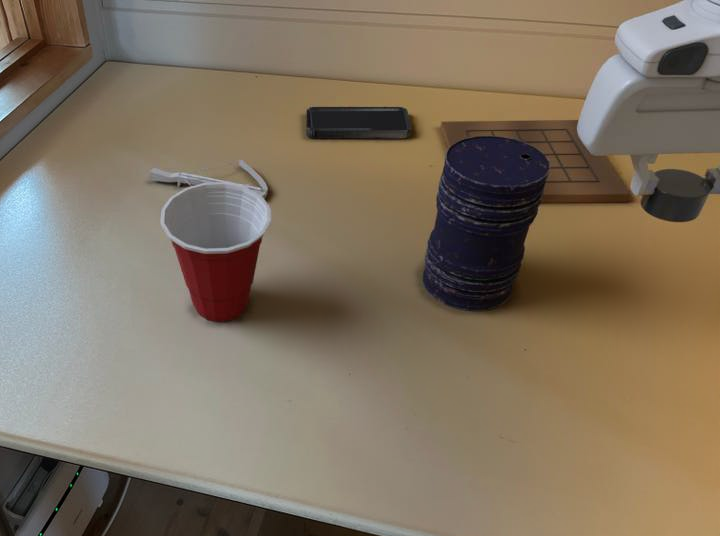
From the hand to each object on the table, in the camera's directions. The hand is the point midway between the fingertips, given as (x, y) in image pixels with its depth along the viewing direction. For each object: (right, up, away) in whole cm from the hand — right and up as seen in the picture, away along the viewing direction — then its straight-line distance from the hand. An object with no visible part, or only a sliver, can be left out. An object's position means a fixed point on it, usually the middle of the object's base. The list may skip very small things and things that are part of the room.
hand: (675, 191), depth 65 cm
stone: (0, -1, +1) cm, 2 cm away
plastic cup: (-42, -10, +12) cm, 45 cm away
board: (-1, +11, +32) cm, 34 cm away
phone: (-22, +19, +40) cm, 50 cm away
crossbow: (-44, +7, +29) cm, 53 cm away
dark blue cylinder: (-15, -7, +14) cm, 21 cm away
